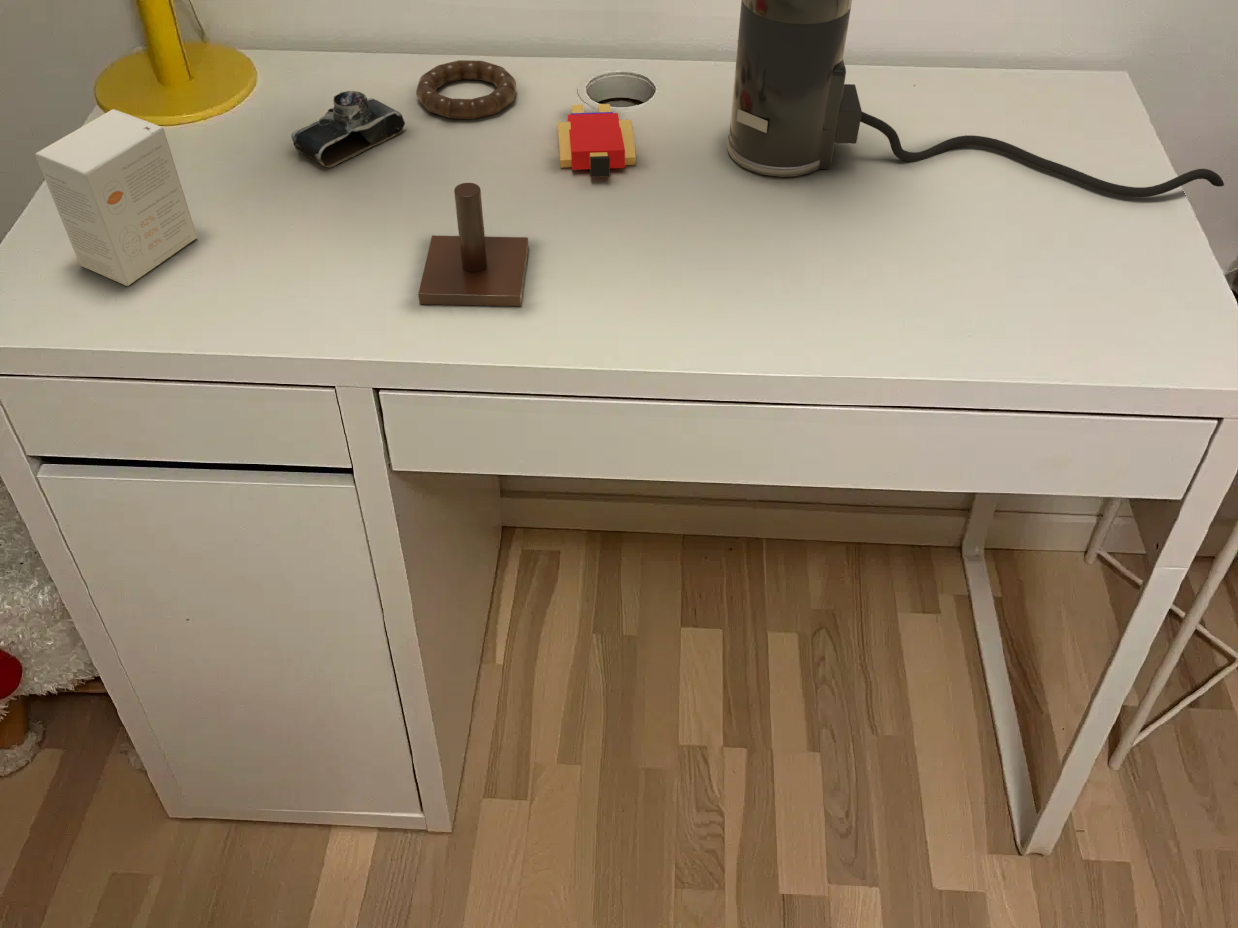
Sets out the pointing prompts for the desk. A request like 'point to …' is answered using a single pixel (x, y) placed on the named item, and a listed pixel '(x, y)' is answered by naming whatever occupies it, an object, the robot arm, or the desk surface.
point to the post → (473, 261)
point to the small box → (118, 195)
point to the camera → (348, 129)
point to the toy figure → (596, 141)
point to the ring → (466, 106)
